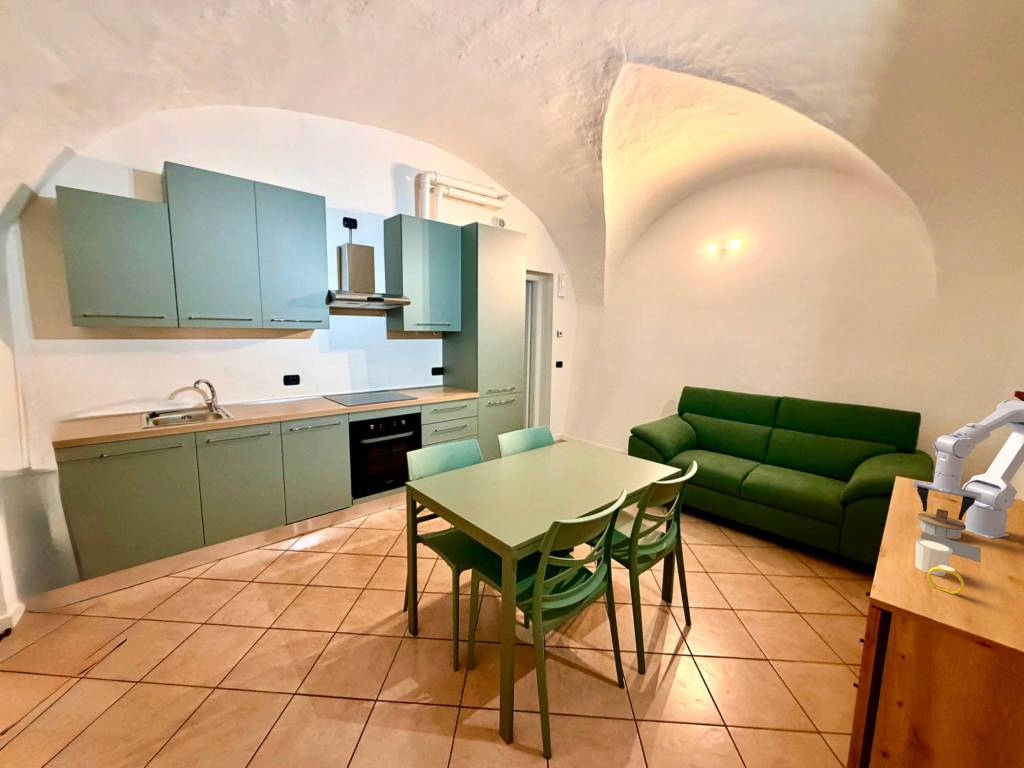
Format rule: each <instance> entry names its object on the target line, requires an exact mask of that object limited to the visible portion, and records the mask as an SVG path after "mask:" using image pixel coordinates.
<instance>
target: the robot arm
mask: <svg viewBox="0 0 1024 768" xmlns="http://www.w3.org/2000/svg"><path fill="white" fill-rule="evenodd" d="M1003 426H1006V427H1008V428H1009V429H1011V431H1012V432H1011V434H1010V435H1009V437H1008V439H1006V441H1005V442H1004V445H1003V446H1002V447H1001V449H1000V451H999V452H998V453H997V455H996V457H995V458H994V460H993V461H992V463H991V464H990V465H989V467H988V468H987V470H986V472H985V473H982V474H976V475H973V476H972V477H971V478H970V479H969V480H968V481H966V482H965V483H964V484H963V486H962V487H961V482H962V477H963V470H964V465H965V464H964V463H965V458H966V457H968V456H970V455H971V453H972V452H973V450H974V449H976V446H977V445H979V444H981V443H983V442H984V441H986V440H987V439H989V438H990V436H991V432H993V431H995V430H996V429H1000V428H1002V427H1003ZM932 447H933V449H934V451H935V453H934V456H935V457H936V463H935V464H936V465H935V470H934V476H933V482H929V481H928V482H927V481H923V480H922V481H920V480H915V479H914V480H913V484H912V487H913V488H916V489H917V490H916V492H917V494H918V496H919V498H920V501H921V504H922V505H921V506H922V512H924V513H926V512H927V510H928V497H929V492H930V491H932V492H936V493H937V492H938V493H943V494H947V495H953V496H957V497H962V500H961V506H960V511H959V513H958V520H957V521H963V517H964V516H965V521H964V524H965V526H966V529H964V530H963V531H967V532H969V533H972V534H975V535H977V536H980V537H984V538H987V539H990V540H991V539H996V538H1003V537H1008V536H1010V534H1009V533H1006V531H1007V530H1006V529H1007V523H1008V517H1009V516H1008V512H1007V510H1009V509H1010V508H1012V506H1014V502H1015V497H1016V496H1017V493H1018V491H1017V490H1016V488H1015V487H1014V485H1012V484H1011V481H1012V479H1013V478H1014V477H1015V476H1016V473H1017V472H1018V471H1019V470H1020V468H1021V466H1022V464H1023V463H1024V401H1023V400H1016V399H1011V398H1008V399H1004V400H1003V401H1001V402H1000V403H998V404H997V405H996V410H995V411H993V412H992V413H991V414H989V415H987V416H986V417H985V418H983V419H982V420H981V421H979V422H978V423H975V422H970V423H969V422H968V423H966V424H965V426H962V427H961V428H959V429H957V430H955V431H954V432H952V433H950V434H949V435H947V434H946V435H945V434H943V435H940V436H939V437H936V439H935V441H934V442H933V443H932ZM965 514H966V515H965Z"/></svg>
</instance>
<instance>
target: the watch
mask: <svg viewBox="0 0 1024 768" xmlns="http://www.w3.org/2000/svg"><path fill="white" fill-rule="evenodd" d="M935 570H941V571H943V572H946V574H951V575H954V576H955V577H956V578H958V580H959V583H960V587H959V588H958V589H955V590H954V589H953V590H951V589H948V588H945V587H942V586H938V585H937V584H936V583H934V581H933V579H932V578H931V575H932V574H931V572H933V571H935ZM927 581H928V583H929V584H930V585H931V586H932V587H933V589H935V590H938V591H942V592H945V593H948V594H950V595H955V594H960V593H961V592H962V591H963V590H964V588H965V586H964V585H965V581H964V579H963V577H962V576H961V575H960V574H959V573H958V572H957V571H956V569H955V568H953V567H950V566H949V565H948V566H945V565H939V566H938V567H933V568H932V569H930V570H929V572H928V573H927Z"/></svg>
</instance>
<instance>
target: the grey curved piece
mask: <svg viewBox="0 0 1024 768" xmlns="http://www.w3.org/2000/svg"><path fill="white" fill-rule="evenodd" d="M919 521H920V522H919V529H920V530H921V531H924V533H927V534H931V535H934V536H938V537H942V538H946V539H949V540H958V539H961V537H962V531H963V530H952V529H946V528H942V527H938V526H934V525H931V524H928V523H926V522H924V521H922V520H920V519H919Z"/></svg>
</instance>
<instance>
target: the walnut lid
mask: <svg viewBox="0 0 1024 768" xmlns="http://www.w3.org/2000/svg"><path fill="white" fill-rule="evenodd" d="M948 515H949V510H945V509H940V508H937V509H936V514H935V513H926V512H924V513H923V512H921V513H918V514H917V518H918V519H919V521H920V520H922V521H924V522H926V523H928V524H931V525H934V526H938V527H942V528H946V529H952V530H962V531H965V530H964V529H966V526H965V523H963V522H962V521H960V520H956V519H954V518H950V517H948Z"/></svg>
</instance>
